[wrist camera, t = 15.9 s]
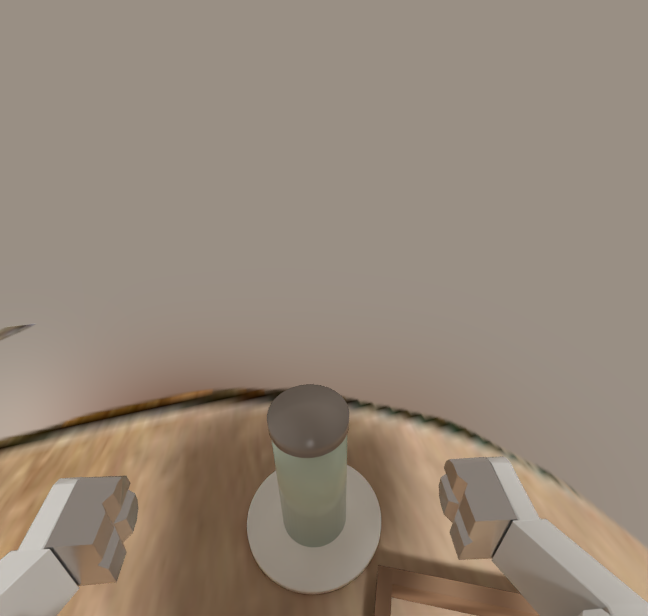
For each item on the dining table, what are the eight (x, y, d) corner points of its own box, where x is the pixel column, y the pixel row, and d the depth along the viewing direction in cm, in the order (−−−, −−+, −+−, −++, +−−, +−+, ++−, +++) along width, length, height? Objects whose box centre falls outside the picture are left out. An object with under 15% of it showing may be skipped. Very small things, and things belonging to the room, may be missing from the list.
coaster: (226, 576, 29) (225, 573, 29) (271, 453, 38) (270, 448, 38) (374, 609, 27) (375, 606, 27) (385, 471, 36) (385, 467, 36)
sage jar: (273, 541, 31) (255, 440, 24) (291, 479, 35) (280, 380, 29) (341, 555, 30) (342, 454, 23) (351, 489, 34) (354, 389, 28)
